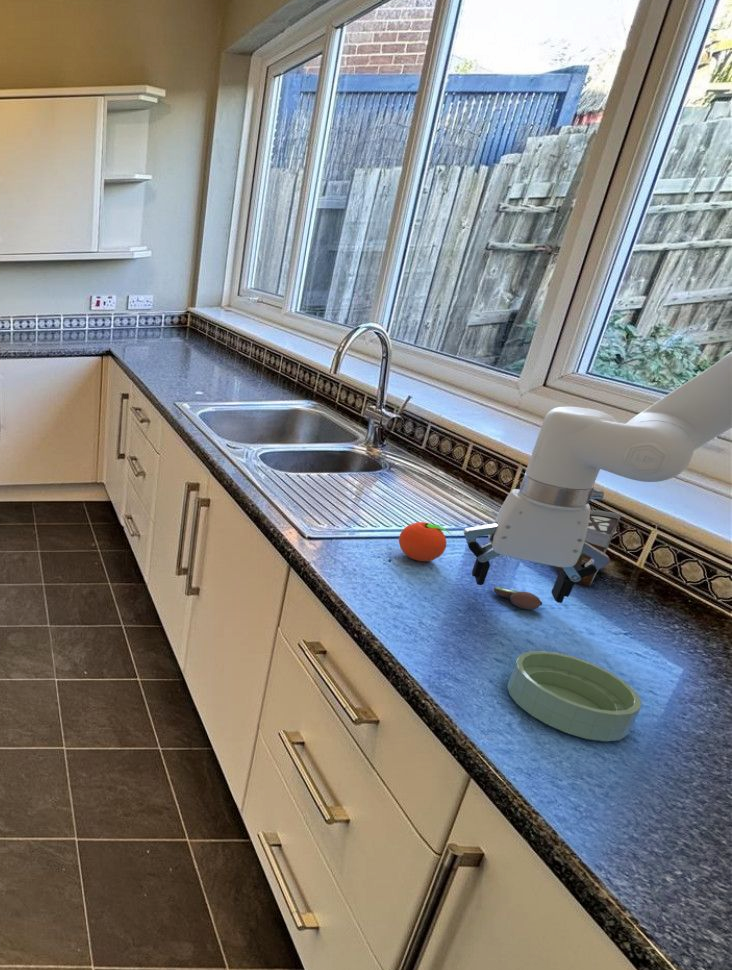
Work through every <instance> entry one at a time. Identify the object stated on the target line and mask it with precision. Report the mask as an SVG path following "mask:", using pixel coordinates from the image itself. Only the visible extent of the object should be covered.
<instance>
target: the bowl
mask: <svg viewBox="0 0 732 970" xmlns="http://www.w3.org/2000/svg"><path fill="white" fill-rule="evenodd" d="M514 663H515V664H514V666H513V669H512V671H511V673H510V677H509V679H508V682H507V685H506V687H507V691H508V694H509V696H510V697H511V699H512V700H513V701H514V702H515V703H516V705H518V706H519V707H520V708H521V709H523V710H524V712H526V713H527V714H529V715H530V716H531V717H533V718H535V719H536V720H538V721H540V722H541V723H544V724H546V725H547V726H550V727H552V728H554V729H556V730H558V731H561V732H563V733H566V734H568V735H571V736H574V737H578V738H582V739H584V740H585V739H586V740H592V741H600V742H615V741H620V740H622V739H623V738H625V737H627V736H628V735H629V734H630V731H631V729H632V727H633V725H634V723H635V721H636V719H637V717H638V714H639V712H640V710H641V708H642V703H643V702H642V699H641V698H640V696H639V694H638V692H637V691H636V690H635V689H634V688H633V687H632V686H631V685H629V684H628V683H627V682H626V681H625V680H624V679H622V678H620V676H618V675H615V674H614V673H612V672H611V671H609V670H607V669H605V668H603V667H601V666H599V665H598V664H597V665H596V664H594V663H592V662H590V661H587V660H584V659H581V658H578V657H576V656H573V655H568V654H564V653H560V652H555V651H548V650H528V651H526V652H523V653H521V654H519V655H518V656H517V658H516V661H515V662H514Z"/></svg>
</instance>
